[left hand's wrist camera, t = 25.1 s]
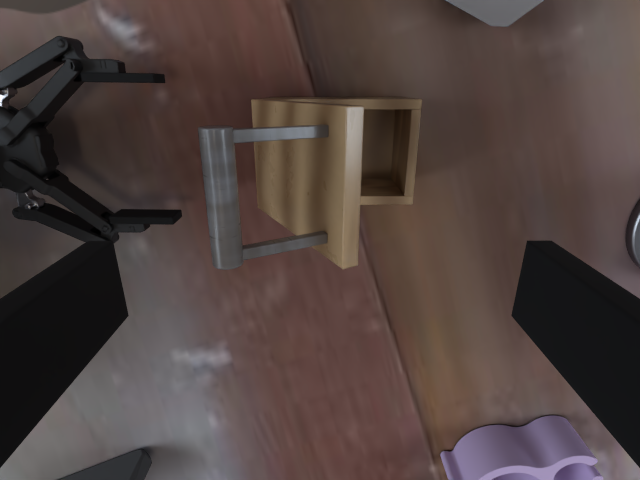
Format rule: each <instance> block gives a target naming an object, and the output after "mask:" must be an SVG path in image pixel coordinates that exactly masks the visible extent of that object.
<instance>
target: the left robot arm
mask: <svg viewBox="0 0 640 480" xmlns="http://www.w3.org/2000/svg"><path fill="white" fill-rule="evenodd" d="M626 246H627V250H628V253H629V255H630V257H631V259H632V260H633V262H634V263H635V264H636V265H637V266H638V267H639V268H640V200H639V201H638V203H637V204H636V206H635V208H634V210H633V212H632V214H631V216H630V219H629V221H628V225H627V230H626ZM127 317H128V311H127V306H126V301H125V297H124V292H123V287H122V282H121V277H120V273H119V268H118V263H117V258H116V254H115V249H114V244H113V241H88V242H86V243H84V244H83V245H81V246H80V247H78V248H77V249H75V250H74V251H72V252H71V253H69V254H68V255H66V256H65V257H63V258H62V259H60V260H59V261H57V262H56V263H54V264H53V265H51V266H50V267H48V268H46V269H45V270H43V271H42V272H40V273H39V274H37V275H36V276H34V277H33V278H31V279H30V280H28V281H27V282H25V283H24V284H22V285H21V286H19V287H18V288H16V289H15V290H13V291H12V292H10V293H9V294H7V295H5V296H4V297H2V298H1V299H0V467H1V466H2V465H3V464H4V463H5V462H6V460H7V459H8V458H9V457H10V456H11V454H12V453H13V452H14V451H15V450H16V448H17V447H18V446H19V445H20V444H21V443H22V441H23V440H24V439H25V438H26V437H27V435H28V434H29V433H30V432H31V431H32V430H33V428H34V427H35V426H36V425H37V424H38V422H39V421H40V420H41V419H42V418H43V416H44V415H45V414H46V413H47V412H48V411H49V409H50V408H51V407H52V406H53V405H54V403H55V402H56V401H57V400H58V399H59V397H60V396H61V395H62V394H63V393H64V392H65V390H66V389H67V388H68V387H69V386H70V384H71V383H72V382H73V381H74V380H75V378H76V377H77V376H78V375H79V374H80V373H81V371H82V370H83V369H84V368H85V367H86V365H87V364H88V363H89V362H90V361H91V360H92V358H93V357H94V356H95V355H96V354H97V352H98V351H99V350H100V349H101V348H102V346H103V345H104V344H105V343H106V342H107V341H108V339H109V338H110V337H111V336H112V335H113V333H114V332H115V331H116V330H117V329H118V327H119V326H120V325H121V324H122V323H123V322H124V320H125V319H126V318H127ZM512 317H513V318H514V319H515V320H516V322H517V323H518V324H519V325H520V326H521V327H522V329H523V330H524V331H525V332H526V333H527V335H528V336H529V337H530V338H531V339H532V341H533V342H534V343H535V344H536V345H537V346H538V348H539V349H540V350H541V351H542V352H543V354H544V355H545V356H546V357H547V358H548V360H549V361H550V362H551V363H552V364H553V365H554V367H555V368H556V369H557V370H558V371H559V373H560V374H561V375H562V376H563V377H564V379H565V380H566V381H567V382H568V383H569V384H570V386H571V387H572V388H573V389H574V390H575V392H576V393H577V394H578V395H579V396H580V397H581V399H582V400H583V401H584V402H585V403H586V405H587V406H588V407H589V408H590V409H591V411H592V412H593V413H594V414H595V415H596V416H597V418H598V419H599V420H600V421H601V422H602V424H603V425H604V426H605V427H606V428H607V430H608V431H609V432H610V433H611V434H612V435H613V437H614V438H615V439H616V440H617V441H618V443H619V444H620V445H621V446H622V447H623V448H624V450H625V451H626V452H627V453H628V454H629V456H630V457H631V458H632V459H633V460H634V462H635V463H636V464H637V465H638V466H639V467H640V299H639V298H638V297H636V296H635V295H633V294H631V293H630V292H628V291H627V290H625V289H624V288H622V287H621V286H619V285H618V284H616V283H615V282H613V281H612V280H610V279H609V278H607V277H606V276H604V275H603V274H601V273H600V272H598V271H597V270H595V269H593V268H592V267H590V266H589V265H587V264H586V263H584V262H583V261H581V260H580V259H578V258H577V257H575V256H574V255H572V254H571V253H569V252H568V251H566V250H565V249H563V248H562V247H560V246H559V245H557V244H556V243H554V242H552V241H527V244H526V249H525V254H524V258H523V263H522V268H521V273H520V277H519V282H518V287H517V292H516V297H515V301H514V306H513V311H512Z"/></svg>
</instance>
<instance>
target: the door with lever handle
mask: <svg viewBox="0 0 640 480" xmlns="http://www.w3.org/2000/svg"><path fill="white" fill-rule="evenodd" d="M251 104H252V120H253V128H233V127H232V126H222V125H216V126H202V127H198V135H199V144H200V153H201V162H202V171H203V180H204V189H205V198H206V207H207V216H208V225H209V234H210V243H211V252H212V261H213V266H214V267H215V268H217V269H224V270H227V269H234V268H237V267H239V266H241V265H242V264H243V262H244V260H247V259H252V258H257V257H262V256H266V255H271V254H276V253H281V252H286V251H291V250H296V249H301V248H306V247H313V248H314V249H316V250H317V251H318V252H320V253H321V254H322V255H324V256H325V257H327V258H328V259H329V260H331V261H332V262H333V263H335V264H336V265H337V266H339V267H340V268H342V269H345V268H349V267H354V266H357V265H358V250H359V224H360V199H361V174H362V149H363V124H364V106H362V105H347V104H331V103H315V102H300V101H284V100H268V99H252V100H251ZM246 142H254V153H255V170H256V186H257V203H258V208H259V209H261V210H262V211H263V212H265V213H266V214H268V215H269V216H270V217H272V218H273V219H274V220H276V221H277V222H278V223H280V224H281V225H283V226H284V227H285V228H287V229H288V230H289V231H291V232H292V233H294V234H295V235H296V236H291V237H286V238H281V239H275V240H270V241H264V242H259V243H254V244H248V245H243V246H242V234H241V221H240V209H239V196H238V183H237V170H236V158H235V145H234V143H246Z"/></svg>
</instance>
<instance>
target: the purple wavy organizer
mask: <svg viewBox="0 0 640 480" xmlns="http://www.w3.org/2000/svg"><path fill="white" fill-rule="evenodd" d="M440 456H441V459H442V462H443V465H444V468H445V471H446V474H447V477H448V480H603V477H602V476H601V474H600V473H599V472H598V470H597V469H596V467H595V466H594V464H596V463H597V461H598V460H597V459H596V458H595V456H594V455H593V454H592V452H591V451H590V450H589V448H588V447H587V445H586V444H585V443H584V441H583V440H582V439H581V437H580V436H579V435H578V433H577V432H576V431H575V429H574V428H573V427H572V425H571V424H570V423H569V421H568V420H567V419H566V418H564V417H560V416H544V417H541V418H538V419H536V420H534V421H532V422H531V423H529V424H527V425H525V426H522V427H510V426H506V425H489V426H484V427H481V428H478V429H475V430H473V431H471V432H469V433H468V434H466V435H465V436H464V437H462V438H461V439H460V440H459V441H458V443H457V444H456V446H455V447H454V450H453V451H451V452H449V451H443V452H441V454H440Z"/></svg>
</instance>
